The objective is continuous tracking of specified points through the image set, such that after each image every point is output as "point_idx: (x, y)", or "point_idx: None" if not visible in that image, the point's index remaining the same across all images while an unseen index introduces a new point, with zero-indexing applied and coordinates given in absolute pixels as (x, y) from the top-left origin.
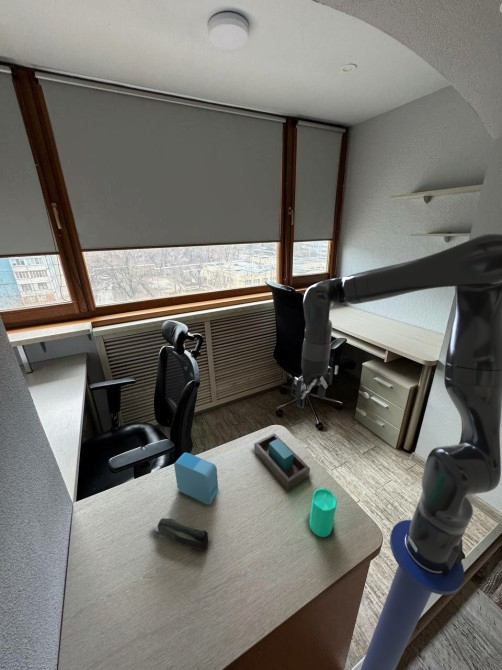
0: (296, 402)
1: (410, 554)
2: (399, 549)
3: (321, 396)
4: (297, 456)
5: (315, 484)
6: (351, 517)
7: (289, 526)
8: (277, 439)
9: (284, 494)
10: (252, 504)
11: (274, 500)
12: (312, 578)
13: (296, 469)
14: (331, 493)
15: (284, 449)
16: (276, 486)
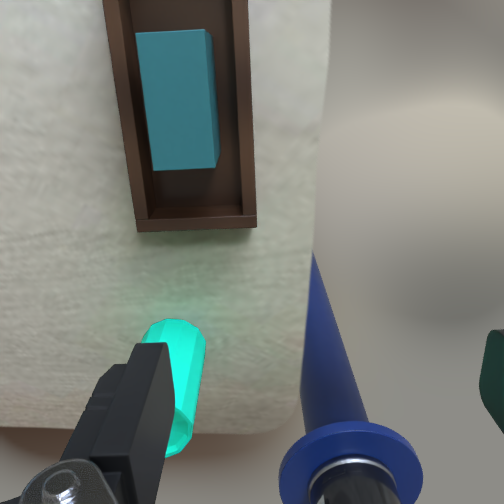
0: (93, 396)
1: (311, 483)
2: (305, 461)
3: (495, 401)
4: (250, 151)
5: (254, 247)
6: (269, 370)
7: (89, 307)
8: (194, 35)
9: (129, 222)
10: (3, 195)
11: (84, 222)
12: (79, 410)
13: (228, 170)
14: (189, 425)
15: (188, 121)
16: (118, 181)
